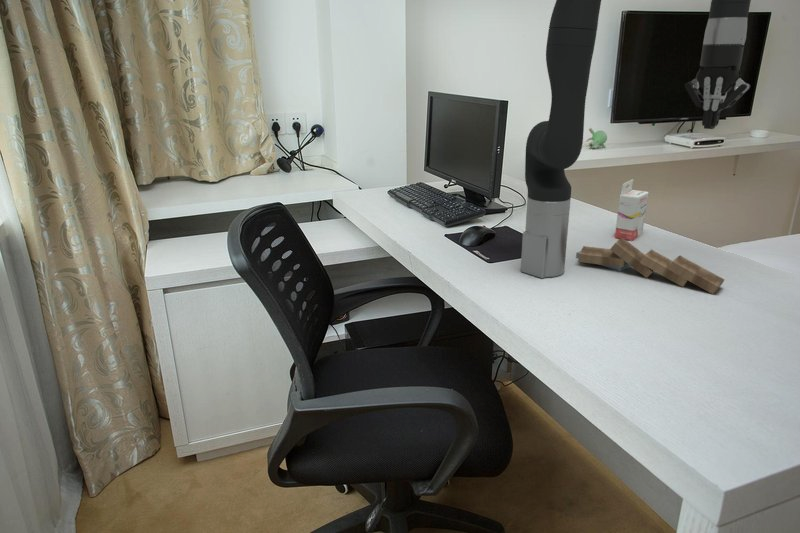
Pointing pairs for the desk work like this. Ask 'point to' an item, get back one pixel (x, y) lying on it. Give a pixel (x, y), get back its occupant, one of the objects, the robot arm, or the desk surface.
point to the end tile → (612, 266)
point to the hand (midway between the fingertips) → (709, 128)
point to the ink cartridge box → (631, 212)
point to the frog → (597, 139)
